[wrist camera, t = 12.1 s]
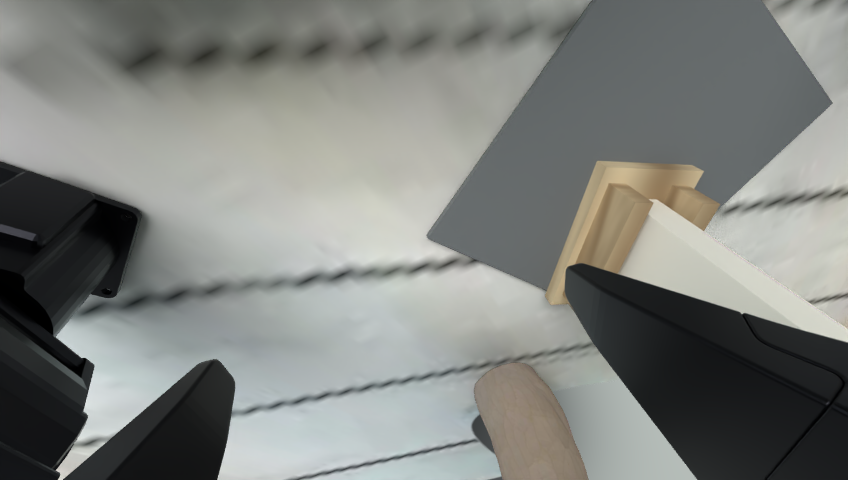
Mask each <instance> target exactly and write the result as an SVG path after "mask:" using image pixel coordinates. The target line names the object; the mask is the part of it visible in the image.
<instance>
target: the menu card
mask: <svg viewBox="0 0 848 480" xmlns="http://www.w3.org/2000/svg"><path fill="white" fill-rule="evenodd" d="M649 200H650V201H652V202H653V205H652V207H651V209H650V211H649V213H648V215H647V217H646V219H645V221H644V223H643V225H642V227H641V229H640V231H639V233H638V235H637V237H636V239H635V241H634V243H633V245H632V247H631V249H630V251H629V253H628V255H627V257H626V259H625V261H624V263H623V265H622V267H621V269H620V271H619V272H618V274H620V275H623V276H626V277H629V278H633V279H636V280H639V281H642V282H646V283H649V284H652V285H655V286H658V287H662V288H665V289H668V290H671V291H675V292H678V293H681V294H684V295H687V296H691V297H694V298H697V299H700V300H704V301H707V302H710V303H713V304H716V305H720V306H723V307H726V308H729V309H733V310H736V311H739V312H741V314H743V313H747V314H751V315H754V316H757V317H760V318H763V319H766V320H770V321H773V322H777V323H780V324H783V325H787V326H790V327H794V328H797V329H800V330H804V331H808V332H811V333H815V334H819V335H823V336H826V337H830V338H834V339H838V340H841V341H845V342H848V329H847V328H845V327H844V326H843V325H841V324H840V323H838V322H837V321H835V320H834V319H832V318H831V317H829V316H828V315H826V314H825V313H823V312H822V311H820V310H819V309H817V308H816V307H815V306H813V305H812V304H810V303H809V302H807V301H806V300H804V299H803V298H801V297H800V296H798V295H797V294H795V293H794V292H792V291H791V290H789V289H788V288H787V287H785V286H784V285H782V284H781V283H779V282H778V281H776V280H775V279H773V278H772V277H770V276H769V275H767V274H766V273H764V272H763V271H762V270H760V269H759V268H757V267H756V266H754V265H753V264H751V263H750V262H748V261H747V260H745V259H744V258H742V257H741V256H739V255H738V254H736V253H735V252H734V251H732V250H731V249H729V248H728V247H726V246H725V245H723V244H722V243H720V242H719V241H717V240H716V239H714V238H713V237H711V236H710V235H708V234H707V233H706V232H704V231H703V230H701V229H700V228H698V227H697V226H695V225H694V224H692V223H691V222H689V221H688V220H686V219H685V218H683V217H682V216H681V215H679V214H678V213H676V212H675V211H673V210H672V209H670V208H669V207H667V206H666V205H664V204H663V203H661V202H660V201H658V200H657V199H649Z"/></svg>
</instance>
